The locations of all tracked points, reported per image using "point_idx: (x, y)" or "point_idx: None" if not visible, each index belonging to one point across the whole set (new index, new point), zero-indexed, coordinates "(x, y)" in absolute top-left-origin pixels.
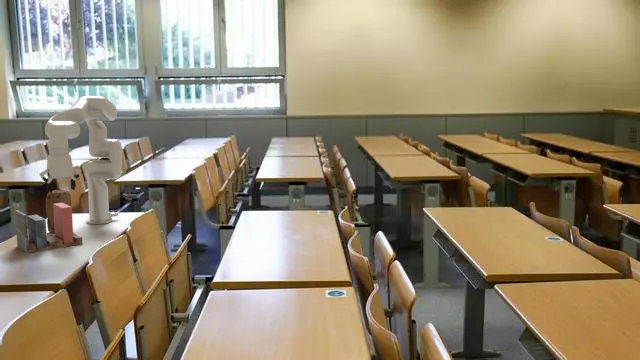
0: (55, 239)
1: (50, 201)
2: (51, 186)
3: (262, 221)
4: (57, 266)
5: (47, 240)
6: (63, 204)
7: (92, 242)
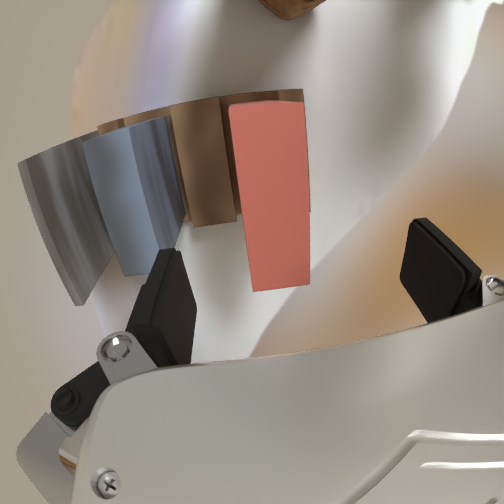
0: (217, 193)
1: None
2: (187, 355)
3: None
4: (198, 356)
5: (187, 194)
6: (291, 180)
7: (338, 198)
